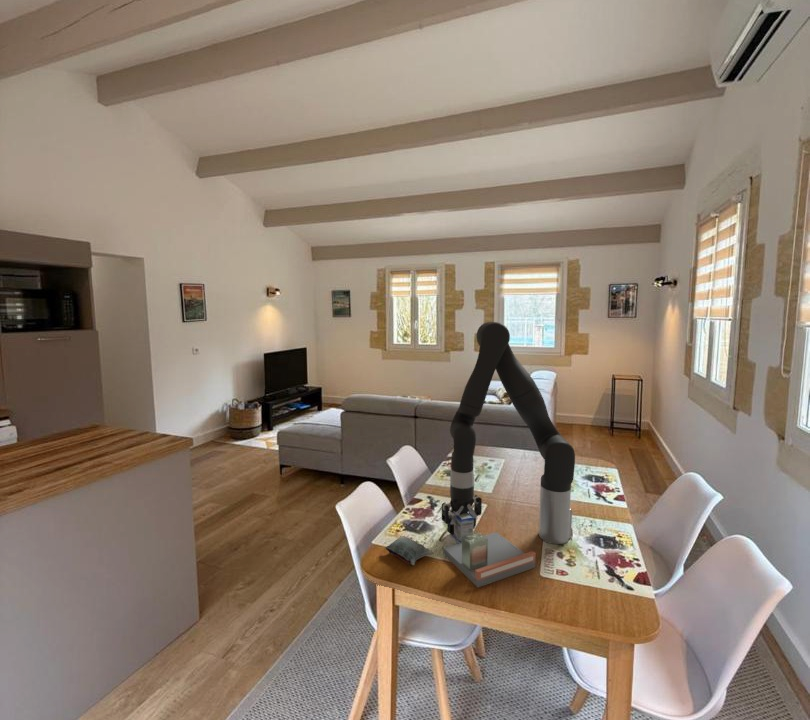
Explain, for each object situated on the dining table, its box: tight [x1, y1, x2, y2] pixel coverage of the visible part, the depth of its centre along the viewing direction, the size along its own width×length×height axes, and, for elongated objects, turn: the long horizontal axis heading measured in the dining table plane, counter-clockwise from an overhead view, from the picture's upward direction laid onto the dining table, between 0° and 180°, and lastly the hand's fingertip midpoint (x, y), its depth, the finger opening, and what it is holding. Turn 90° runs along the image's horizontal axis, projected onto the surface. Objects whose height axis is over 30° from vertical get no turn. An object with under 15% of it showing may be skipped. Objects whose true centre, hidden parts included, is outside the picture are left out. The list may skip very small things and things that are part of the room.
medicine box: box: [451, 512, 474, 543], centre depth 142 cm, size 8×4×9 cm, turn 21°
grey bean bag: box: [385, 535, 433, 566], centre depth 132 cm, size 9×12×5 cm
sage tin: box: [462, 531, 488, 571], centre depth 124 cm, size 6×4×8 cm
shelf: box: [442, 531, 536, 588], centre depth 129 cm, size 20×18×4 cm
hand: (461, 530), depth 142 cm, fingers open, 7 cm apart
